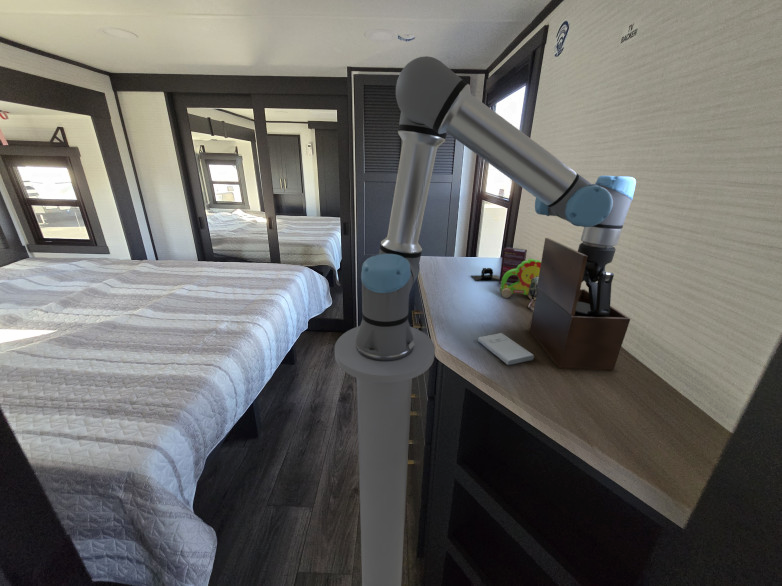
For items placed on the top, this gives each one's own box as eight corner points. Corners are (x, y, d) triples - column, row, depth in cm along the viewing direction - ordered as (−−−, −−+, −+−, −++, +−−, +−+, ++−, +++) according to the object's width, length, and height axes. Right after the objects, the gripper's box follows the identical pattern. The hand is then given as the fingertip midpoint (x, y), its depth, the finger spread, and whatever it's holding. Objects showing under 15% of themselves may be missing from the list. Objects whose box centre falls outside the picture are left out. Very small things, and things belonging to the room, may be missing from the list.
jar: (588, 359, 80) (600, 317, 75) (553, 349, 84) (563, 309, 79) (588, 344, 87) (600, 304, 82) (556, 336, 91) (565, 298, 86)
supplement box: (521, 286, 132) (527, 249, 126) (519, 289, 128) (525, 251, 123) (500, 282, 136) (505, 246, 131) (497, 285, 132) (503, 248, 127)
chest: (573, 332, 94) (584, 289, 89) (613, 370, 76) (630, 318, 71) (529, 331, 95) (538, 287, 89) (559, 368, 77) (572, 317, 72)
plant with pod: (518, 306, 112) (528, 252, 105) (546, 304, 114) (558, 251, 107) (531, 315, 105) (542, 258, 97) (561, 314, 107) (575, 257, 99)
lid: (548, 237, 84) (545, 237, 84) (587, 255, 66) (583, 255, 66) (539, 286, 89) (537, 286, 89) (574, 315, 71) (571, 315, 71)
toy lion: (500, 298, 119) (507, 259, 114) (498, 292, 124) (504, 255, 119) (544, 301, 117) (553, 262, 111) (540, 296, 122) (548, 258, 116)
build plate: (496, 276, 145) (498, 266, 143) (503, 281, 138) (504, 271, 136) (470, 276, 144) (471, 266, 142) (475, 281, 137) (477, 271, 135)
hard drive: (507, 366, 77) (477, 341, 88) (533, 360, 80) (501, 337, 91) (508, 360, 77) (478, 336, 88) (534, 354, 79) (502, 332, 90)
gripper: (650, 258, 64) (617, 349, 72) (586, 235, 86) (566, 307, 94) (613, 256, 64) (584, 348, 72) (558, 234, 86) (541, 306, 94)
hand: (574, 325), depth 83 cm, fingers open, 11 cm apart
